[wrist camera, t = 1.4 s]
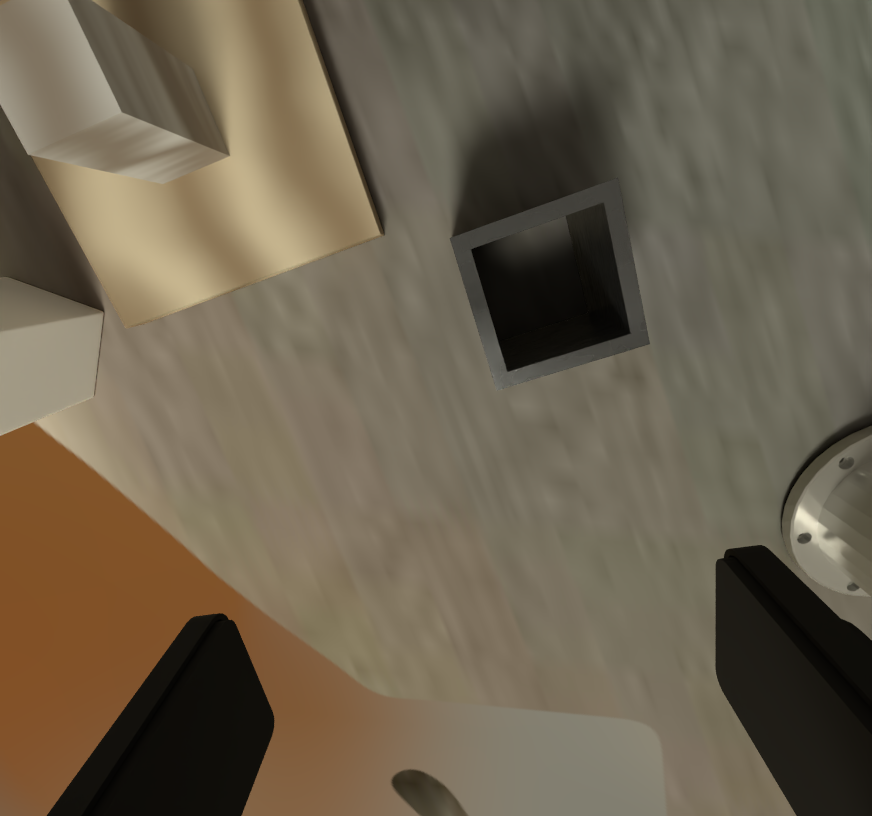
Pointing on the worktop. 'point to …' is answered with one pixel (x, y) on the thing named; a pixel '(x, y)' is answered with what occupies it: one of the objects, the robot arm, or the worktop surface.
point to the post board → (235, 196)
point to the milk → (44, 353)
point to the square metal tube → (601, 282)
